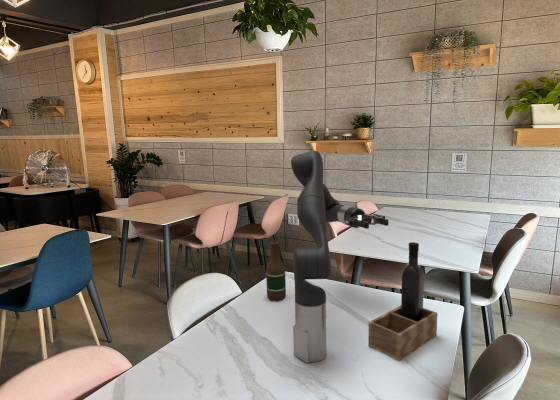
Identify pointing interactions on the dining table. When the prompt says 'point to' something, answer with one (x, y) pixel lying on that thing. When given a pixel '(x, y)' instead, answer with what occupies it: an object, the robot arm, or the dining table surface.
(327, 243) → the robot arm
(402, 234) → the dining table surface
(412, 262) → the wine bottle
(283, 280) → the beer bottle
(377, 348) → the bottle rack
